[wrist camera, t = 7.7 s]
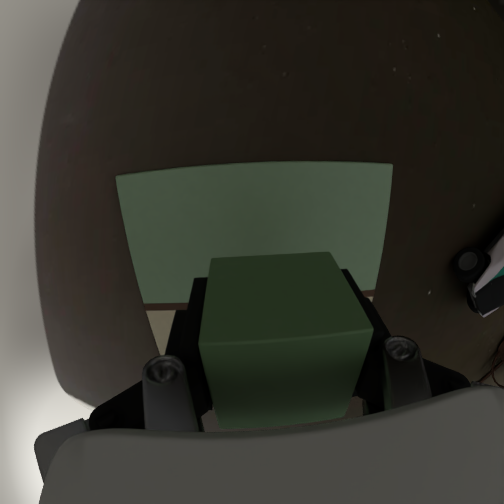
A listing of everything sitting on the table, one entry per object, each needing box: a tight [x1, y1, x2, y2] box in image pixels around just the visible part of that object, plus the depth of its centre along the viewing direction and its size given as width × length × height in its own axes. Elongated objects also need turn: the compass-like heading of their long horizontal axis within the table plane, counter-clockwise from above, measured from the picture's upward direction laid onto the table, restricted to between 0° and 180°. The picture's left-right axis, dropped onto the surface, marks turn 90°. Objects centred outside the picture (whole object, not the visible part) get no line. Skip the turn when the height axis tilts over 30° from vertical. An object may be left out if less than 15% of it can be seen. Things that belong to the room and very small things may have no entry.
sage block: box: [198, 251, 373, 429], centre depth 10 cm, size 4×4×4 cm
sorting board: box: [115, 161, 393, 355], centre depth 19 cm, size 16×18×1 cm
